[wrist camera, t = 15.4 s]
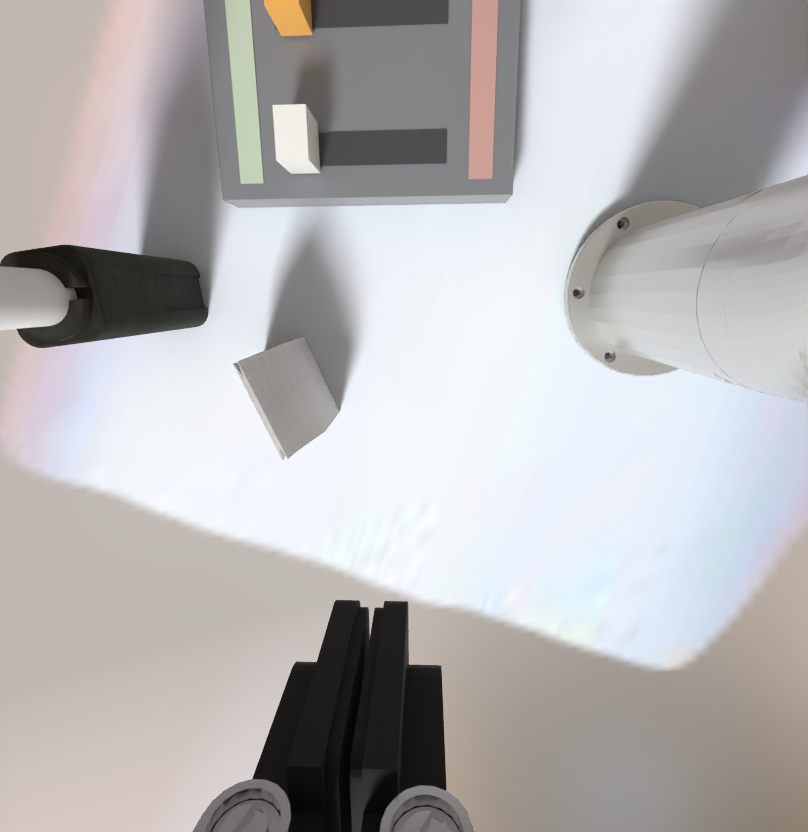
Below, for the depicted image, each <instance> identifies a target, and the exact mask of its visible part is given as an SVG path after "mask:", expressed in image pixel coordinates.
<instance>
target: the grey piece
mask: <svg viewBox="0 0 808 832" xmlns="http://www.w3.org/2000/svg"><path fill="white" fill-rule="evenodd" d="M233 365H234V366H235V368H236V370H237V372H238V374H239V376H240V378H241V380H242V382H243V384H244V386H245V388H246V390H247V392H248V394H249V396H250V398H251V400H252V401H253V403H254V405H255V407H256V409H257V411H258V413H259V415H260V417H261V419H262V421H263V423H264V425H265V427H266V429H267V431H268V433H269V435H270V437H271V438H272V440H273V442H274V444H275V446H276V448H277V450H278V452H279V454H280V456H281V458H282V460H283V459H284V456H286V457H287V458H289V457H290V456H292V455H293V454H294V453H295V452H297V451H298V450H299V449H301V448H302V447H303V446H305V445H306V444H308V443H309V442H310V441H312V440H313V439H315V438H316V437H317V436H319V435H320V434H322V433H323V432H324V431H326V429H327V428H328V427H329V425H330V424H331V423H332V421H333V420H334V418H335V417H336V416H337V414H338V413H339V412H340V411H339V409H338V406H337V404H336V402H335V400H334V398H333V396H332V394H331V392H330V390H329V387H328V385H327V383H326V381H325V379H324V377H323V375H322V373H321V371H320V368H319V366H318V364H317V362H316V360H315V358H314V356H313V354H312V352H311V349H310V347H309V345H308V343H307V341H306V339H305V337H304V336H303V337H300V338H297V339H294V340H291V341H288V342H285V343H283V344H280V345H278V346H275V347H273V348H270V349H268V350H265V351H263V352H260V353H258V354H255V355H253V356H250V357H248V358H245V359H243V360H240V361H238V363H233Z"/></svg>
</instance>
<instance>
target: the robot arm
mask: <svg viewBox="0 0 808 832" xmlns="http://www.w3.org/2000/svg"><path fill="white" fill-rule="evenodd" d="M617 222H620V223H621V225H622V226H621V228H620V229H619V228H618V227H617ZM575 289H576V290H578V295H577V296H574V295H573V291H574V290H575ZM564 300H565V313H566V317H567V321H568V324H569V328H570V330H571V332H572V334H573V336H574V338H575V340H576V342H577V343H578V344H579V345H580V347H581V348H582V349H583V350H584V352H585V353H586V354H588V355H589V356H590V357H591V358H592V359H594V360H595V361H596V362H597V363H599V364H601V365H603V366H605V367H607V368H609V369H611V370H614V371H617V372H619V373H623V374H628V375H634V376H655V375H660V374H666V373H669V372H672V371H675V370H678V369H683V370H686V371H690V372H693V373H696V374H700V375H703V376H707V377H710V378H714V379H717V380H720V381H724V382H727V383H731V384H734V385H738V386H741V387H744V388H748V389H751V390H755V391H758V392H761V393H766V394H770V395H773V396H777V397H781V398H786V399H790V400H795V401H803V402H808V175H806V176H802V177H799V178H796V179H793V180H790V181H787V182H784V183H781V184H778V185H774V186H771V187H768V188H765V189H762V190H758V191H755V192H752V193H749V194H746V195H742V196H739V197H736V198H733V199H730V200H726V201H723V202H720V203H717V204H714V205H710V206H707V207H704V208H700V207H698V206H695V205H692V204H689V203H685V202H682V201H671V200H660V201H652V202H646V203H643V204H640V205H636V206H633V207H630V208H628V209H626V210H624V211H621V212H619V213H617V214H616V215H614V216H613V217H611V218H610V219H608V220H606V221H605V222H603V223H602V224H601V225H600V226H599V227H598V228H597V229H596V230H595V231H594V232H593V233H591V234H590V235H589V237H588V238H587V239H586V241H585V242H584V243H583V245H582V246H581V247H580V249H579V250H578V252H577V254H576V256H575V258H574V260H573V262H572V264H571V267H570V270H569V273H568V277H567V280H566V287H565V295H564ZM607 352H608V353H609V357H608V358H606V359H605V358H604V356H605V354H606V353H607ZM408 653H409V652H408V602H400V601H385V602H384V607H383V608H375V610H374V617H373V623H372V629H371V635H369V609H368V607H360V601H352V600H336V601H335V603H334V606H333V609H332V613H331V616H330V620H329V623H328V626H327V630H326V633H325V637H324V640H323V644H322V646H321V650H320V653H319V657H318V660H317V662H296V663H295V664H294V666H293V668H292V670H291V673H290V676H289V678H288V681H287V684H286V687H285V690H284V692H283V695H282V698H281V701H280V704H279V706H278V709H277V712H276V715H275V717H274V720H273V723H272V726H271V729H270V731H269V734H268V737H267V740H266V743H265V746H264V748H263V752H262V754H261V757H260V759H259V762H258V765H257V768H256V771H255V773H254V776H253V779H251V780H247V781H244V782H240V783H237V784H235V785H234V786H232V787H230V788H228V789H226V790H225V791H223V792H222V793H221V794H220V795H219V796H218V797H217V798H216V799H214V800H213V801H212V802H211V804H210V805H209V807H208V808H207V809H206V811H205V812H204V813H203V815H202V816H201V818H200V820H199V821H198V823H197V825H196V827H195V829H194V830H193V832H474V831H473V826H472V824H471V821H470V818H469V816H468V813H467V811H466V810H465V808H464V807H463V806H462V804H461V803H460V802H459V800H458V799H457V798H455V797H454V796H453V795H451V794H450V793H449V792H447V791H446V770H445V747H444V746H445V745H444V722H443V697H442V673H441V666H436V665H409V664H408V663H409V654H408Z"/></svg>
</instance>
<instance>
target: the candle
mask: <svg viewBox="0 0 808 832" xmlns="http://www.w3.org/2000/svg"><path fill="white" fill-rule="evenodd" d="M199 276H200V275H199V272H198V270H197V268H196V267H195V266H194V265H193V264H191V263H190V262H187V261H181V260H174V259H167V258H159V257H152V256H145V255H138V254H131V253H123V252H116V251H109V250H102V249H95V248H87V247H80V246H73V245H58V246H52V247H45V248H38V249H32V250H25V251H19V252H13V253H10V254H8V255H6V256H5V257H4V258H3V259H2V261H1V263H0V330H8V329H17V331H18V333H19V335H20V336H21V338H22V339H23V340H24V341H25V342H26V343H28V344H30V345H31V346H34V347H38V348H47V347H55V346H62V345H70V344H77V343H84V342H92V341H99V340H106V339H113V338H120V337H127V336H134V335H142V334H149V333H156V332H163V331H170V330H177V329H184V328H191V327H197V326H200V325H202V324H203V323H204V322H205V321H206V319H207V315H208V311H207V308H205V307H204V303H203V298H202V294H201V290H200V285H199V281H198V277H199Z"/></svg>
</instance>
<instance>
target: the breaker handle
mask: <svg viewBox="0 0 808 832" xmlns="http://www.w3.org/2000/svg"><path fill="white" fill-rule="evenodd" d="M264 6H265V8H266V10H267V11H268V13H269V15H270V17H271V19H272V20H273V22H274V24H275V26H276V27H277V29H278V31H279V33H280V35H281V36H302V35H312V14H311V0H264Z"/></svg>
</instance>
